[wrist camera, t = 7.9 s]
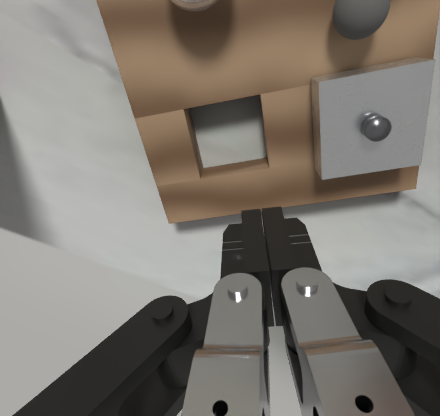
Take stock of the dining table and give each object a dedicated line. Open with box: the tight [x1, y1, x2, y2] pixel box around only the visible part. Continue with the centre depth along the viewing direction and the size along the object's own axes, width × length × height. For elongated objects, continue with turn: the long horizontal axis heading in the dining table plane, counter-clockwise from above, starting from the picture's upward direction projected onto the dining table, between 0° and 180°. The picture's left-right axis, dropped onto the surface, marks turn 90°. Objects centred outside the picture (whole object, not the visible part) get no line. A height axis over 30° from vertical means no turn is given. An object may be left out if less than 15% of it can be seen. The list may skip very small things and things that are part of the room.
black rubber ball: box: [332, 0, 390, 40], centre depth 18 cm, size 3×3×3 cm
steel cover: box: [311, 57, 435, 180], centre depth 21 cm, size 7×7×3 cm
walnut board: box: [97, 0, 440, 224], centre depth 23 cm, size 22×22×2 cm
